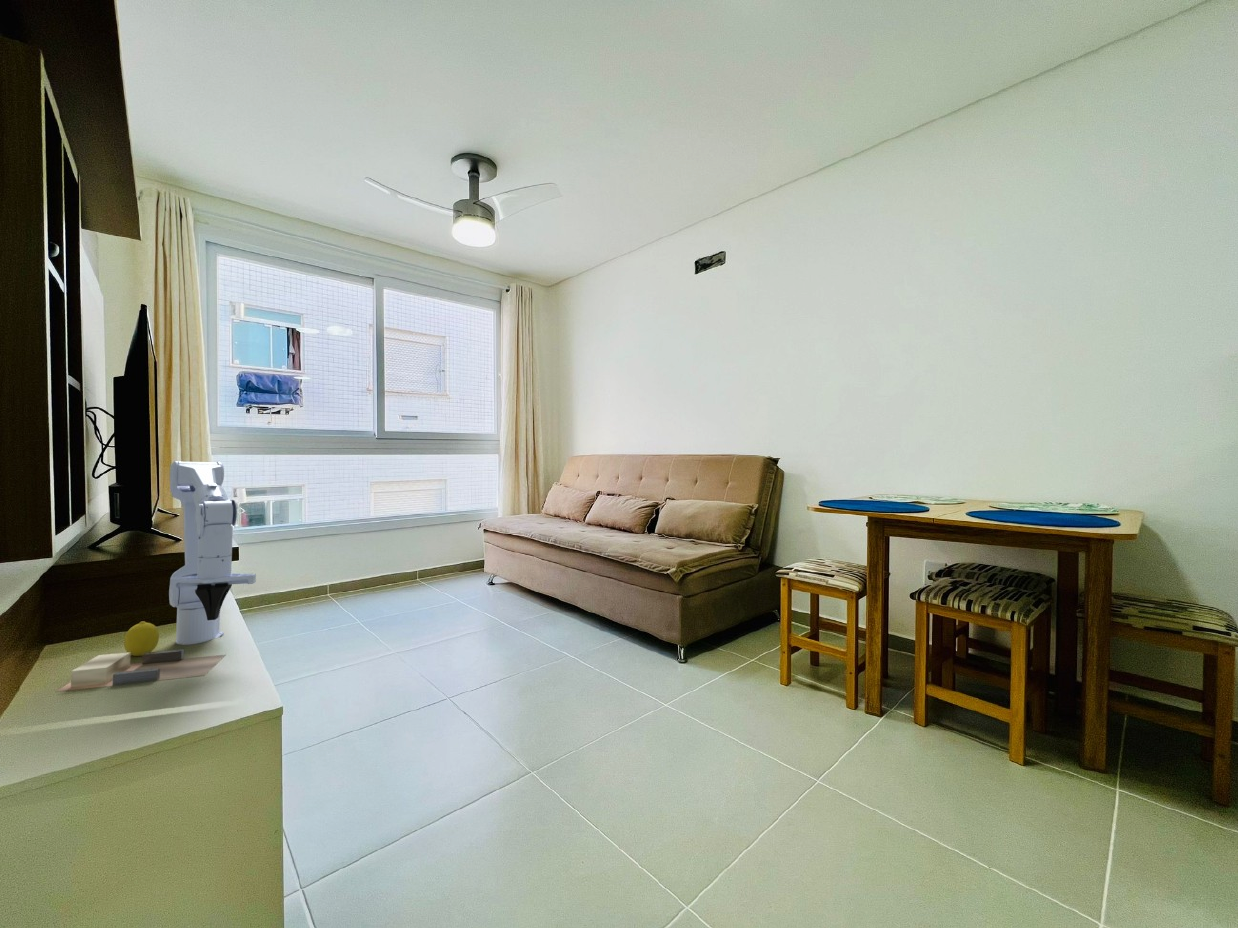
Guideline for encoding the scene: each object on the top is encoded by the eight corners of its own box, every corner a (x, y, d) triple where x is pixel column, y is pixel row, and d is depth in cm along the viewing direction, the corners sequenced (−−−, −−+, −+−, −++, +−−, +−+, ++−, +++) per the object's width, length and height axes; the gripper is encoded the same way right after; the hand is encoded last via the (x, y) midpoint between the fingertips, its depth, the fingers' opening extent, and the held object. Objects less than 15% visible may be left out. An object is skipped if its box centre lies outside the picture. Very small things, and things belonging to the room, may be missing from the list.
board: (94, 671, 102) (94, 667, 102) (226, 658, 110) (226, 654, 110) (54, 695, 91) (55, 691, 91) (204, 679, 99) (204, 675, 99)
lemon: (136, 663, 106) (137, 626, 106) (116, 661, 107) (117, 623, 107) (165, 654, 111) (166, 618, 111) (145, 652, 112) (146, 616, 112)
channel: (144, 662, 105) (145, 652, 105) (183, 658, 107) (184, 649, 107) (112, 685, 94) (112, 674, 94) (156, 680, 96) (156, 670, 96)
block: (97, 670, 100) (98, 655, 100) (130, 666, 102) (130, 652, 102) (70, 687, 92) (71, 670, 92) (106, 683, 94) (106, 667, 94)
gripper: (163, 560, 101) (161, 627, 101) (249, 557, 107) (247, 620, 106) (179, 555, 108) (177, 617, 108) (259, 552, 113) (257, 612, 113)
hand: (212, 618), depth 107 cm, fingers closed
